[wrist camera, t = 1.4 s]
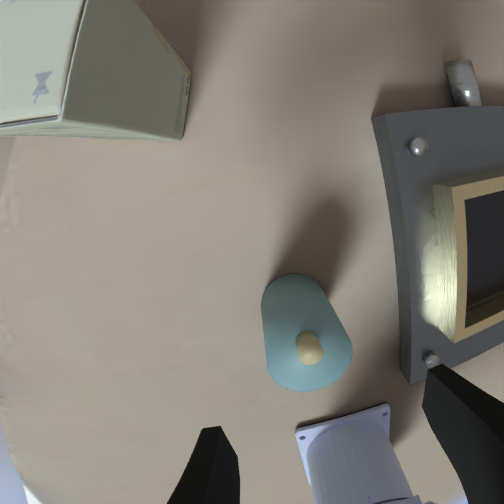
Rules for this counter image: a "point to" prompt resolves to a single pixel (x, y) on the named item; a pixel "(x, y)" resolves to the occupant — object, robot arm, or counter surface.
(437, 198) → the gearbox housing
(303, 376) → the spout can
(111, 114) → the skincare box
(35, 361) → the counter surface
